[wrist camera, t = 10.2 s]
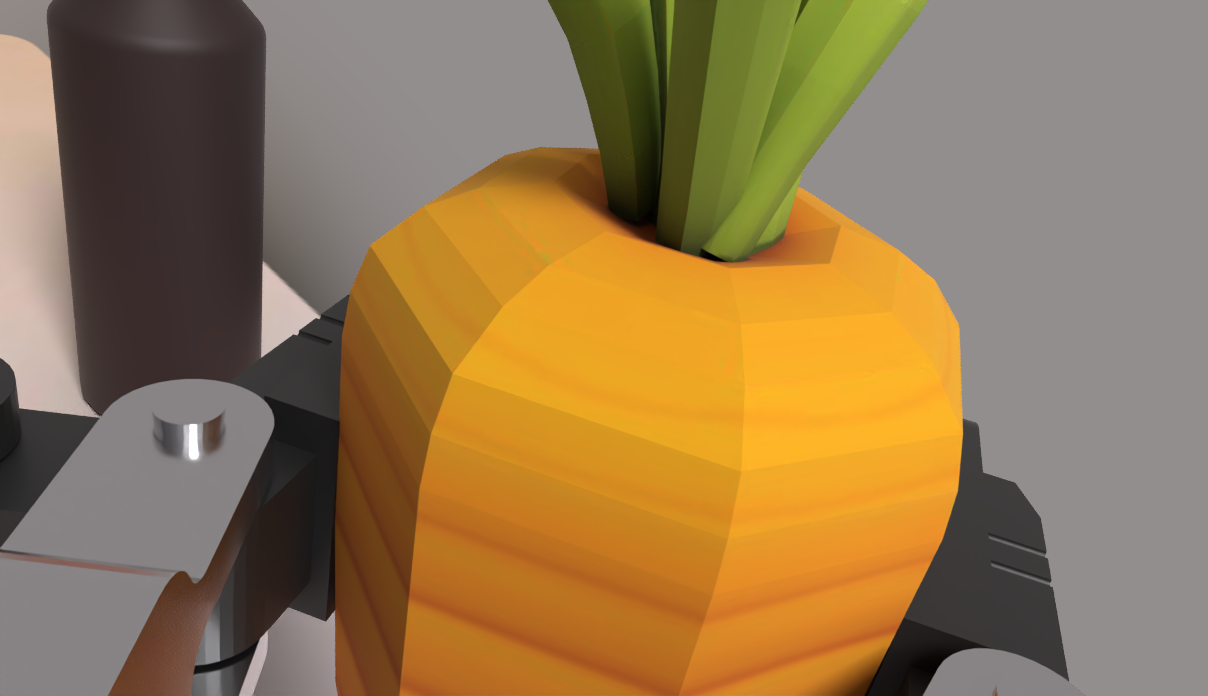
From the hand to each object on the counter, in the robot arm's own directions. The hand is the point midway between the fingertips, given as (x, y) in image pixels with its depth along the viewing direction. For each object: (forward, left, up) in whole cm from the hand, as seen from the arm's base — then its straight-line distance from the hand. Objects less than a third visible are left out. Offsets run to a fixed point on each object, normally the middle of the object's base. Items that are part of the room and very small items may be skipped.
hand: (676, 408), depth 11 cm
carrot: (0, -3, -8) cm, 9 cm away
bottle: (-22, +19, -19) cm, 35 cm away
